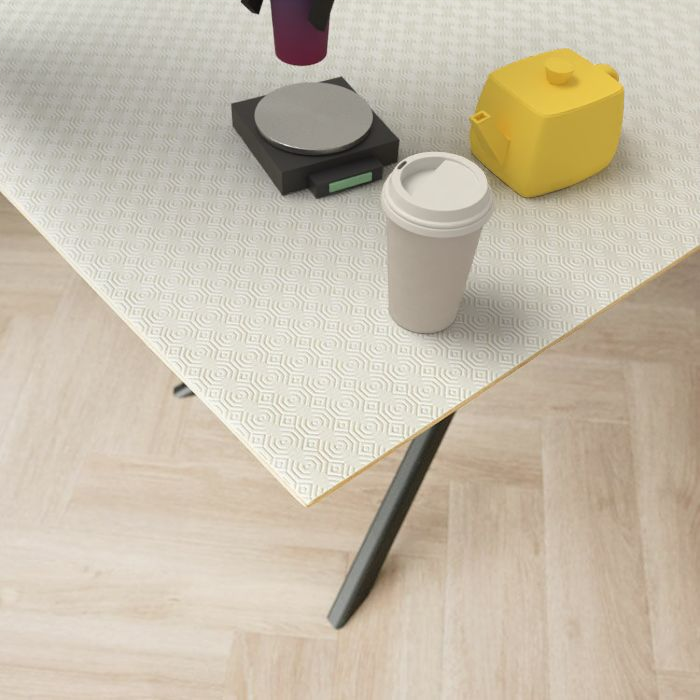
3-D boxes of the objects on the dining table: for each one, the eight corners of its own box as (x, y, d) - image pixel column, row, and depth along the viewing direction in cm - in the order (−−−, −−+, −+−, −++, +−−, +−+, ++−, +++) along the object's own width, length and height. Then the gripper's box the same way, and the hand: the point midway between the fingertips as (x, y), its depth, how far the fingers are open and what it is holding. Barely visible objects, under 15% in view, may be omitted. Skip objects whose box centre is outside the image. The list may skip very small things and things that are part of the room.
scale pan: (236, 103, 102) (236, 97, 102) (340, 78, 107) (340, 72, 106) (284, 167, 95) (284, 161, 94) (393, 137, 99) (394, 131, 98)
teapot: (496, 219, 95) (515, 123, 86) (428, 157, 102) (439, 62, 93) (636, 163, 102) (666, 68, 94) (564, 108, 109) (586, 16, 101)
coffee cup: (430, 261, 90) (447, 133, 79) (494, 318, 85) (522, 190, 74) (352, 298, 86) (358, 169, 75) (414, 361, 81) (431, 232, 70)
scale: (232, 126, 105) (230, 103, 102) (341, 98, 109) (341, 76, 107) (291, 207, 95) (290, 184, 93) (407, 173, 100) (409, 151, 98)
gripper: (472, -197, 81) (389, 55, 83) (282, -232, 86) (208, 7, 88) (459, -251, 74) (368, 27, 76) (252, -286, 79) (172, -23, 81)
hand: (282, 16), depth 82 cm, fingers closed on cup, 6 cm apart
